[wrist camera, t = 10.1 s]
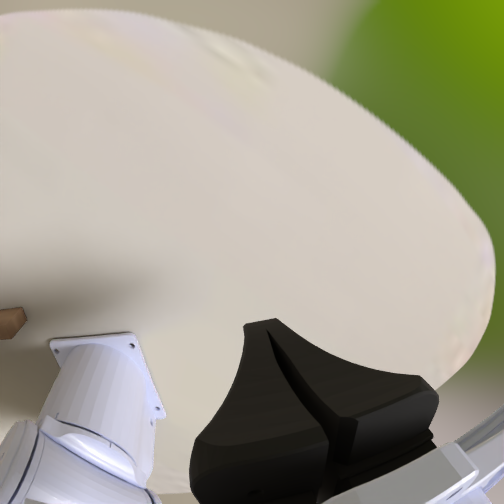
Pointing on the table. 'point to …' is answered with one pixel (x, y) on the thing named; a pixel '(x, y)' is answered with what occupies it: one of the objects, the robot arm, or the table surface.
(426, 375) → the table surface
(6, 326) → the brown wooden tray
